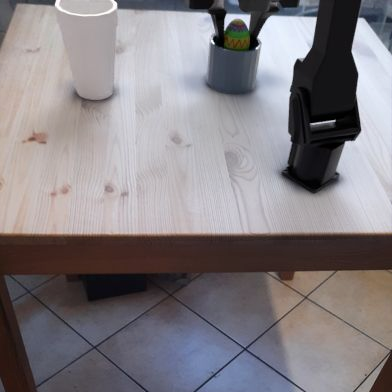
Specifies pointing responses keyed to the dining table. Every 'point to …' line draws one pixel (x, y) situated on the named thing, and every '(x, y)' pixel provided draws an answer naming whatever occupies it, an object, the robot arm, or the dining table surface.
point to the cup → (232, 68)
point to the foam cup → (89, 44)
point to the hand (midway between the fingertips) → (234, 50)
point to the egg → (236, 36)
